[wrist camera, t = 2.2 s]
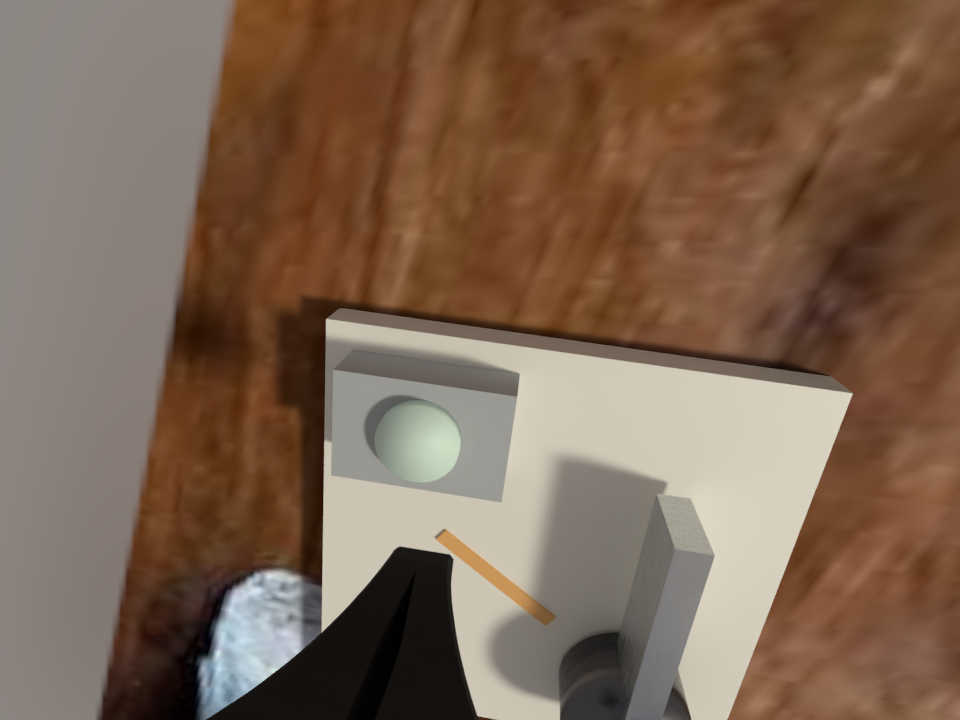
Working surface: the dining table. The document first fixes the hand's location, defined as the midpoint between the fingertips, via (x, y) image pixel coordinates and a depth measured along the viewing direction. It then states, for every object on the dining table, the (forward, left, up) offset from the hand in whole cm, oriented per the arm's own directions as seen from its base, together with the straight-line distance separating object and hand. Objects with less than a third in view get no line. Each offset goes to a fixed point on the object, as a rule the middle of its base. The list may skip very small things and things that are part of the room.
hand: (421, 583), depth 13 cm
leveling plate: (-5, -4, -9) cm, 11 cm away
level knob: (-7, -8, -8) cm, 13 cm away
